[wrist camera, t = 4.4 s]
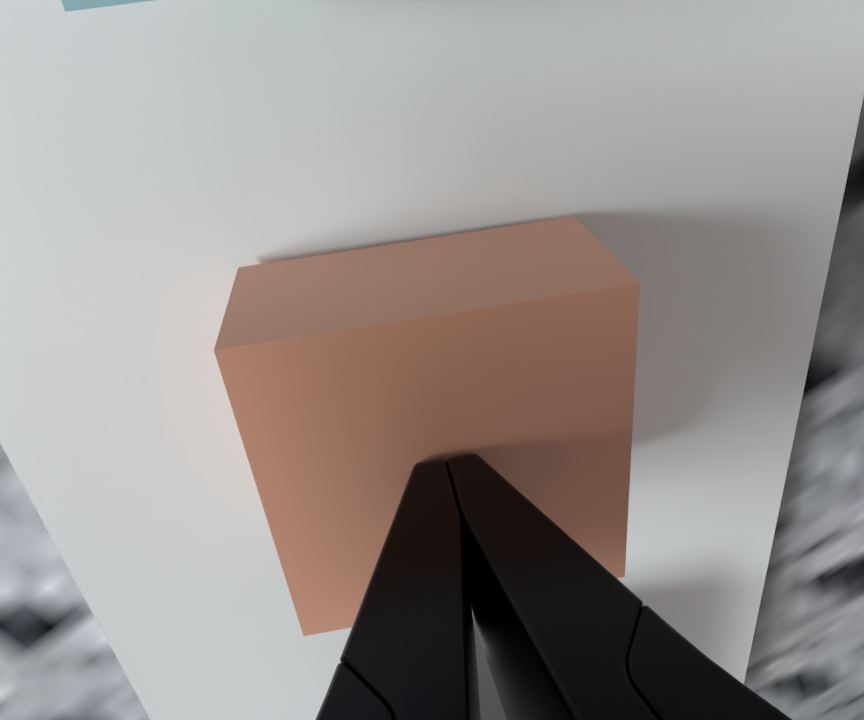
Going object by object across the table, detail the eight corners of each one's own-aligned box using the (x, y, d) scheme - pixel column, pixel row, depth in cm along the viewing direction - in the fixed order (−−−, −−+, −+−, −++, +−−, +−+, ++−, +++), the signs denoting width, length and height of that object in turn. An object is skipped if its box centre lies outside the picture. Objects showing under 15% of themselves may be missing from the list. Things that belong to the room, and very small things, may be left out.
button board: (706, 686, 20) (732, 736, 19) (223, 781, 19) (216, 841, 18) (966, -951, 7) (1123, -1173, 5) (-587, -879, 6) (-850, -1120, 4)
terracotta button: (574, 474, 13) (624, 576, 11) (307, 520, 12) (303, 635, 10) (573, 216, 10) (640, 282, 8) (238, 266, 10) (213, 350, 8)
